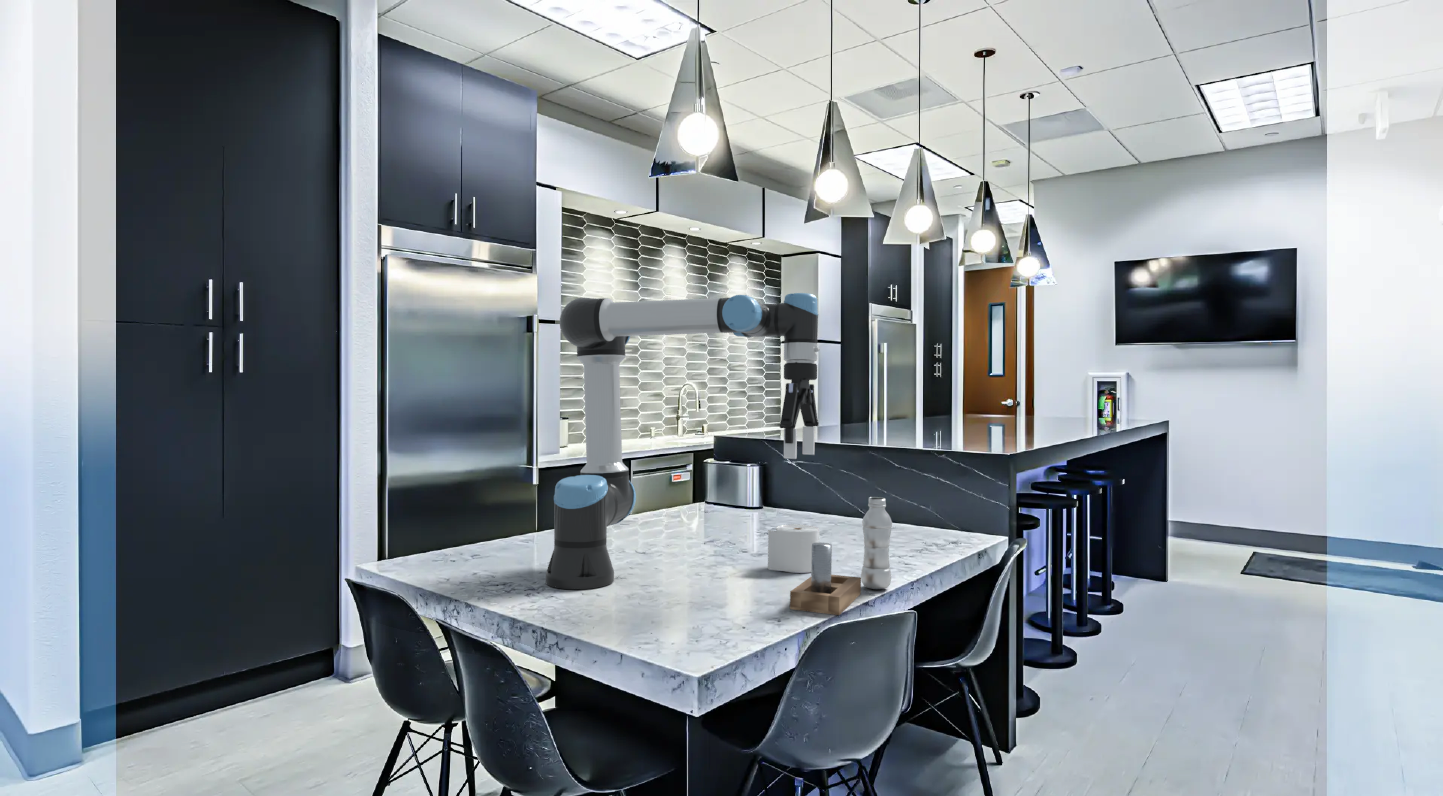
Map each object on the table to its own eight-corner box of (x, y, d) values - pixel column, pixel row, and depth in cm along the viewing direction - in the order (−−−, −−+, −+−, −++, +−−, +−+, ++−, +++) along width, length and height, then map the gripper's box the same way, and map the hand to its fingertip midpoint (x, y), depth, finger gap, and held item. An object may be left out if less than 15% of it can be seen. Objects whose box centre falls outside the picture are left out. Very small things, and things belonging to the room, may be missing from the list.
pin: (808, 605, 156) (809, 545, 156) (814, 600, 159) (815, 541, 159) (827, 607, 154) (828, 547, 154) (833, 602, 158) (834, 543, 158)
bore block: (790, 609, 155) (790, 591, 155) (815, 588, 171) (816, 572, 171) (839, 615, 151) (839, 597, 151) (860, 593, 167) (860, 577, 167)
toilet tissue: (826, 567, 193) (826, 526, 193) (805, 576, 183) (806, 534, 183) (787, 562, 199) (787, 523, 198) (765, 571, 188) (765, 529, 188)
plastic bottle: (871, 583, 176) (872, 495, 176) (897, 589, 172) (898, 498, 172) (854, 588, 172) (855, 497, 172) (880, 594, 167) (881, 501, 167)
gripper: (799, 359, 163) (798, 461, 163) (831, 364, 186) (830, 453, 186) (766, 360, 166) (764, 459, 166) (801, 364, 189) (800, 452, 189)
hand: (799, 456), depth 176 cm, fingers open, 13 cm apart
